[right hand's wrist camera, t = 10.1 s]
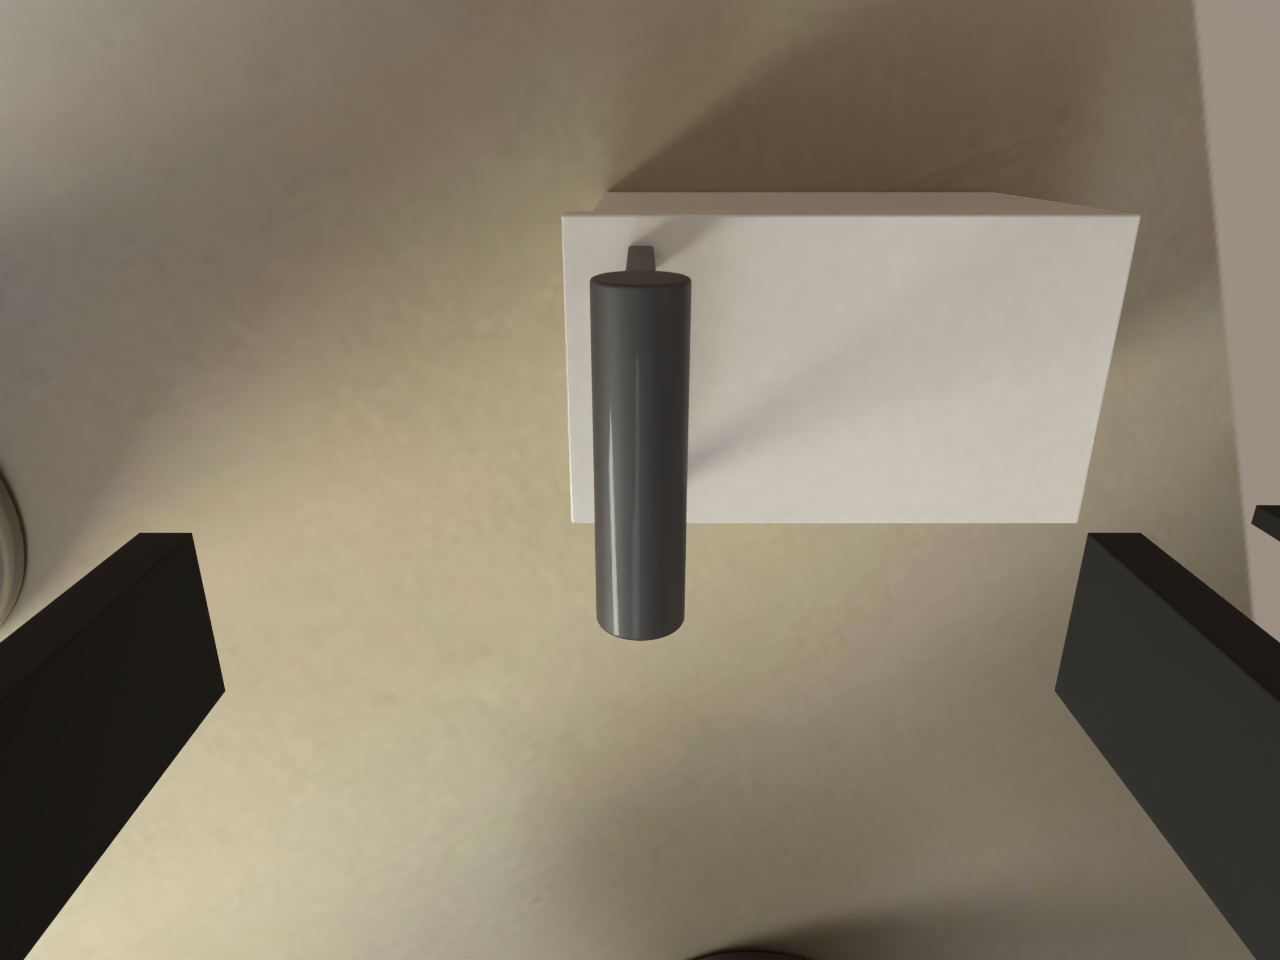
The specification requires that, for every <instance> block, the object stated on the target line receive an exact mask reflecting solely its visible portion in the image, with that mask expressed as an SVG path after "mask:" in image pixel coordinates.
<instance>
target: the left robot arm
mask: <svg viewBox="0 0 1280 960" xmlns="http://www.w3.org/2000/svg"><path fill="white" fill-rule="evenodd" d="M1251 524H1253V525H1255V526H1256V527H1258V528H1259V529H1261V530H1263V531H1264V532H1266V533H1267V534H1269V535H1270V536H1272V537H1274V538H1275V539H1277V540H1278V541H1280V505H1257V506H1256V509H1255V512H1254V516H1253V519H1252V523H1251ZM698 960H803V959H799V958H796V957H792V956H787V955H782V954H775V953H766V952H736V953H727V954H720V955H714V956H710V957H706V958H702V959H698Z"/></svg>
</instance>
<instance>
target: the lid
mask: <svg viewBox="0 0 1280 960" xmlns="http://www.w3.org/2000/svg"><path fill="white" fill-rule="evenodd" d="M561 220H562V251H563V281H564V312H565V343H566V374H567V405H568V436H569V467H570V497H571V521H572V522H573V523H595V560H596V607H597V621H598V623H599V624H600V626H601V627H602V629H604V630H605V631H606V632H608V633H609V634H611V635H613V636H616V637H619V638H622V639H627V640H637V641H644V640H654V639H659V638H662V637H665V636H668V635H670V634H672V633H673V632H675V631H676V630H678V629H679V627H680V626H681V625H682V623H683V621H684V610H685V564H686V523H1077V522H1078V520H1079V515H1080V511H1081V506H1082V501H1083V496H1084V491H1085V486H1086V481H1087V477H1088V472H1089V467H1090V462H1091V457H1092V452H1093V448H1094V443H1095V438H1096V433H1097V428H1098V423H1099V418H1100V414H1101V409H1102V404H1103V399H1104V394H1105V389H1106V384H1107V380H1108V375H1109V370H1110V365H1111V360H1112V355H1113V351H1114V346H1115V341H1116V336H1117V331H1118V326H1119V321H1120V317H1121V312H1122V307H1123V302H1124V297H1125V292H1126V288H1127V283H1128V278H1129V273H1130V268H1131V263H1132V258H1133V254H1134V249H1135V244H1136V239H1137V234H1138V229H1139V225H1140V220H1141V216H1140V215H1139V214H1133V213H1126V212H1120V211H567V212H565V213H564V214H563V215H562V217H561Z"/></svg>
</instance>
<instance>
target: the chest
mask: <svg viewBox="0 0 1280 960" xmlns="http://www.w3.org/2000/svg"><path fill="white" fill-rule="evenodd" d="M594 211H1114V210H1107V209H1101V208H1094V207H1088V206H1081V205H1075V204H1068V203H1062V202H1055V201H1049V200H1042V199H1035V198H1029V197H1022V196H1016V195H1009V194H1003V193H996V192H606V193H605V194H604V196H603V197H602V199H601V200H600V202H599V203H598V205H597V206H596V208H595V209H594Z"/></svg>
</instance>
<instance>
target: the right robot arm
mask: <svg viewBox="0 0 1280 960" xmlns="http://www.w3.org/2000/svg"><path fill="white" fill-rule="evenodd" d="M23 572H24V544H23V536H22V532H21V527H20V522H19V519H18V516H17V513H16V510H15V507H14V505H13V502H12V500H11V498H10V495H9V493H8V491H7V489H6V487H5V485H4V483H3V482H2V480H1V478H0V626H1V625H2V623H3V622H4V621H5V619H6V618H7V617H8V615H9V613H10V612H11V610H12V608H13V606H14V604H15V602H16V600H17V597H18V595H19V591H20V588H21V584H22V580H23ZM224 692H225V687H224V682H223V677H222V673H221V668H220V663H219V659H218V654H217V649H216V644H215V640H214V635H213V630H212V626H211V621H210V616H209V611H208V607H207V602H206V597H205V593H204V588H203V583H202V578H201V574H200V569H199V564H198V560H197V555H196V550H195V545H194V541H193V536H192V533H139V534H138V535H136V536H135V537H134V538H132V539H131V540H130V541H129V542H127V543H126V544H125V545H124V546H122V547H121V548H120V549H119V550H117V551H116V552H115V553H113V554H112V555H111V556H110V557H108V558H107V559H106V560H105V561H103V562H102V563H101V564H99V565H98V566H97V567H96V568H94V569H93V570H92V571H91V572H89V573H88V574H87V575H86V576H84V577H83V578H82V579H80V580H79V581H78V582H77V583H75V584H74V585H73V586H72V587H70V588H69V589H68V590H67V591H65V592H64V593H63V594H61V595H60V596H59V597H58V598H56V599H55V600H54V601H53V602H51V603H50V604H49V605H48V606H46V607H45V608H44V609H42V610H41V611H40V612H39V613H37V614H36V615H35V616H34V617H32V618H31V619H30V620H28V621H27V622H26V623H25V624H23V625H22V626H21V627H20V628H18V629H17V630H16V631H15V632H13V633H12V634H11V635H9V636H8V637H7V638H6V639H4V640H3V641H2V642H1V643H0V960H24V959H25V957H26V956H27V955H28V953H29V952H30V951H31V949H32V948H33V947H34V945H35V944H36V943H37V941H38V940H39V939H40V937H41V936H42V935H43V933H44V932H45V931H46V929H47V928H48V927H49V925H50V924H51V923H52V921H53V920H54V919H55V917H56V916H57V915H58V913H59V912H60V911H61V909H62V908H63V907H64V905H65V904H66V903H67V901H68V900H69V899H70V897H71V896H72V895H73V893H74V892H75V891H76V889H77V888H78V887H79V885H80V884H81V883H82V881H83V880H84V879H85V877H86V876H87V875H88V873H89V872H90V871H91V869H92V868H93V867H94V865H95V864H96V863H97V861H98V860H99V859H100V857H101V856H102V855H103V853H104V852H105V851H106V849H107V848H108V847H109V845H110V844H111V843H112V841H113V840H114V839H115V837H116V836H117V835H118V833H119V832H120V831H121V829H122V828H123V827H124V825H125V824H126V823H127V821H128V820H129V819H130V817H131V816H132V815H133V813H134V812H135V811H136V809H137V808H138V807H139V805H140V804H141V803H142V801H143V800H144V799H145V797H146V796H147V795H148V793H149V792H150V791H151V789H152V788H153V787H154V785H155V784H156V783H157V781H158V780H159V779H160V777H161V776H162V775H163V773H164V772H165V771H166V769H167V768H168V767H169V765H170V764H171V763H172V761H173V760H174V759H175V757H176V756H177V755H178V753H179V752H180V751H181V749H182V748H183V747H184V745H185V744H186V743H187V741H188V740H189V739H190V737H191V736H192V735H193V733H194V732H195V731H196V729H197V728H198V727H199V725H200V724H201V723H202V721H203V720H204V719H205V717H206V716H207V715H208V713H209V712H210V711H211V709H212V708H213V707H214V705H215V704H216V703H217V701H218V700H219V699H220V697H221V696H222V695H223V693H224ZM1055 692H1056V693H1057V695H1058V696H1059V697H1060V699H1061V700H1062V701H1063V703H1064V704H1065V705H1066V707H1067V708H1068V709H1069V711H1070V712H1071V713H1072V715H1073V716H1074V717H1075V719H1076V720H1077V721H1078V723H1079V724H1080V725H1081V727H1082V728H1083V729H1084V731H1085V732H1086V733H1087V735H1088V736H1089V737H1090V739H1091V740H1092V741H1093V743H1094V744H1095V745H1096V747H1097V748H1098V749H1099V751H1100V752H1101V753H1102V755H1103V756H1104V757H1105V759H1106V760H1107V761H1108V763H1109V764H1110V765H1111V767H1112V768H1113V769H1114V771H1115V772H1116V773H1117V775H1118V776H1119V777H1120V779H1121V780H1122V781H1123V783H1124V784H1125V785H1126V787H1127V788H1128V789H1129V791H1130V792H1131V793H1132V795H1133V796H1134V797H1135V799H1136V800H1137V801H1138V803H1139V804H1140V805H1141V807H1142V808H1143V809H1144V811H1145V812H1146V813H1147V815H1148V816H1149V817H1150V819H1151V820H1152V821H1153V823H1154V824H1155V825H1156V827H1157V828H1158V829H1159V831H1160V832H1161V833H1162V835H1163V836H1164V837H1165V839H1166V840H1167V841H1168V843H1169V844H1170V845H1171V847H1172V848H1173V849H1174V851H1175V852H1176V853H1177V855H1178V856H1179V857H1180V859H1181V860H1182V861H1183V863H1184V864H1185V865H1186V867H1187V868H1188V869H1189V871H1190V872H1191V873H1192V875H1193V876H1194V877H1195V879H1196V880H1197V881H1198V883H1199V884H1200V885H1201V887H1202V888H1203V889H1204V891H1205V892H1206V893H1207V895H1208V896H1209V897H1210V899H1211V900H1212V901H1213V903H1214V904H1215V905H1216V907H1217V908H1218V909H1219V911H1220V912H1221V913H1222V915H1223V916H1224V917H1225V919H1226V920H1227V921H1228V923H1229V924H1230V925H1231V927H1232V928H1233V929H1234V931H1235V932H1236V933H1237V935H1238V936H1239V937H1240V939H1241V940H1242V941H1243V943H1244V944H1245V945H1246V947H1247V948H1248V949H1249V951H1250V952H1251V953H1252V955H1253V956H1254V957H1255V959H1256V960H1280V643H1279V642H1278V641H1277V640H1276V639H1274V638H1273V637H1272V636H1270V635H1269V634H1268V633H1267V632H1265V631H1264V630H1263V629H1262V628H1260V627H1259V626H1258V625H1257V624H1255V623H1254V622H1253V621H1252V620H1250V619H1249V618H1248V617H1246V616H1245V615H1244V614H1243V613H1241V612H1240V611H1239V610H1238V609H1236V608H1235V607H1234V606H1232V605H1231V604H1230V603H1229V602H1227V601H1226V600H1225V599H1224V598H1222V597H1221V596H1220V595H1219V594H1217V593H1216V592H1215V591H1213V590H1212V589H1211V588H1210V587H1208V586H1207V585H1206V584H1205V583H1203V582H1202V581H1201V580H1200V579H1198V578H1197V577H1196V576H1194V575H1193V574H1192V573H1191V572H1189V571H1188V570H1187V569H1186V568H1184V567H1183V566H1182V565H1181V564H1179V563H1178V562H1177V561H1175V560H1174V559H1173V558H1172V557H1170V556H1169V555H1168V554H1167V553H1165V552H1164V551H1163V550H1161V549H1160V548H1159V547H1158V546H1156V545H1155V544H1154V543H1153V542H1151V541H1150V540H1149V539H1148V538H1146V537H1145V536H1144V535H1142V534H1141V533H1088V536H1087V541H1086V545H1085V550H1084V555H1083V560H1082V564H1081V569H1080V574H1079V578H1078V583H1077V588H1076V593H1075V597H1074V602H1073V607H1072V611H1071V616H1070V621H1069V626H1068V630H1067V635H1066V640H1065V644H1064V649H1063V654H1062V659H1061V663H1060V668H1059V673H1058V677H1057V682H1056V687H1055Z"/></svg>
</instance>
